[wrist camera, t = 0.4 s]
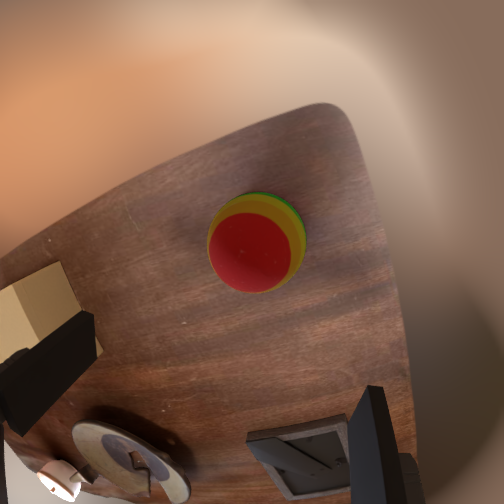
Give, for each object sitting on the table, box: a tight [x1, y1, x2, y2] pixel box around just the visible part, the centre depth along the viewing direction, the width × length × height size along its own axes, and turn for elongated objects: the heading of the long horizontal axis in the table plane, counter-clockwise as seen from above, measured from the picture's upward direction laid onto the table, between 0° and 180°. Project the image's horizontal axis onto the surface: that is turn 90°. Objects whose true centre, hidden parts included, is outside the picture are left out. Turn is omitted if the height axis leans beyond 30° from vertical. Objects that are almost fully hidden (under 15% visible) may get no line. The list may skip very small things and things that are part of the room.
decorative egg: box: [207, 192, 307, 293], centre depth 26 cm, size 8×8×10 cm
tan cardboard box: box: [0, 261, 104, 364], centre depth 34 cm, size 14×16×10 cm
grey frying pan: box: [69, 419, 191, 504], centre depth 42 cm, size 22×30×8 cm
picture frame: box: [246, 413, 351, 501], centre depth 38 cm, size 13×2×18 cm
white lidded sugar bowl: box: [37, 460, 81, 501], centre depth 50 cm, size 11×11×9 cm
